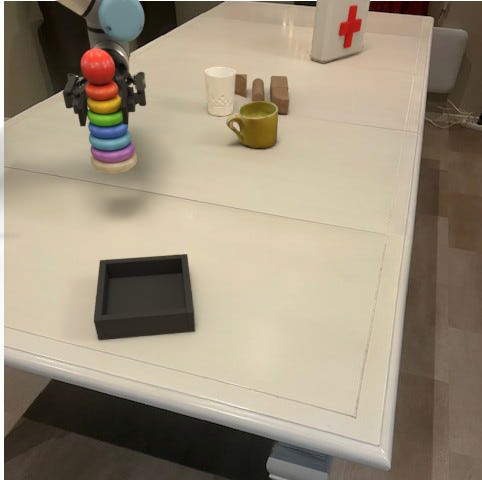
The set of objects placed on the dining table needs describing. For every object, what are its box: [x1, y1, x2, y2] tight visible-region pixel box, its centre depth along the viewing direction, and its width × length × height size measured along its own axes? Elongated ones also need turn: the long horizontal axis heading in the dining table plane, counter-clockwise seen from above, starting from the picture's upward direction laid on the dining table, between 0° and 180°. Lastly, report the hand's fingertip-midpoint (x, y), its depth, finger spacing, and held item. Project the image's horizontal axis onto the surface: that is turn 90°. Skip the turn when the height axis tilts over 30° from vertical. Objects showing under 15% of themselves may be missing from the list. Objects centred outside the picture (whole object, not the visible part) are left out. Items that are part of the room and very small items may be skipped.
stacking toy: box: [80, 48, 138, 174], centre depth 79 cm, size 8×8×19 cm
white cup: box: [204, 66, 237, 117], centre depth 125 cm, size 8×8×10 cm
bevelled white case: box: [310, 0, 371, 64], centre depth 160 cm, size 21×8×20 cm, turn 132°
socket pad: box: [93, 253, 196, 341], centre depth 72 cm, size 14×14×4 cm
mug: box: [225, 100, 279, 149], centre depth 113 cm, size 12×10×10 cm
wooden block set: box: [235, 73, 290, 115], centre depth 132 cm, size 17×6×18 cm
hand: (103, 116), depth 75 cm, fingers closed on stacking toy, 6 cm apart
